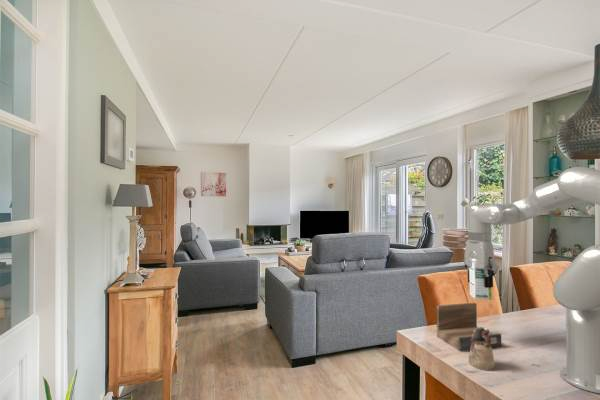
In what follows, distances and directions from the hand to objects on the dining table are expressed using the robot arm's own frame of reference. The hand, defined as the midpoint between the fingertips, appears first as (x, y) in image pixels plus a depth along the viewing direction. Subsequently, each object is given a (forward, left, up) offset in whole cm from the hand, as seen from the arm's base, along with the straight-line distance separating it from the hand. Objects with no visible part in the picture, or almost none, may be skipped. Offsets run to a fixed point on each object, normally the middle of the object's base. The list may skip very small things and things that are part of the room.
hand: (480, 284), depth 118 cm
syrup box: (0, 0, -5) cm, 5 cm away
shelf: (+2, +4, -22) cm, 22 cm away
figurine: (-14, +12, -22) cm, 29 cm away
